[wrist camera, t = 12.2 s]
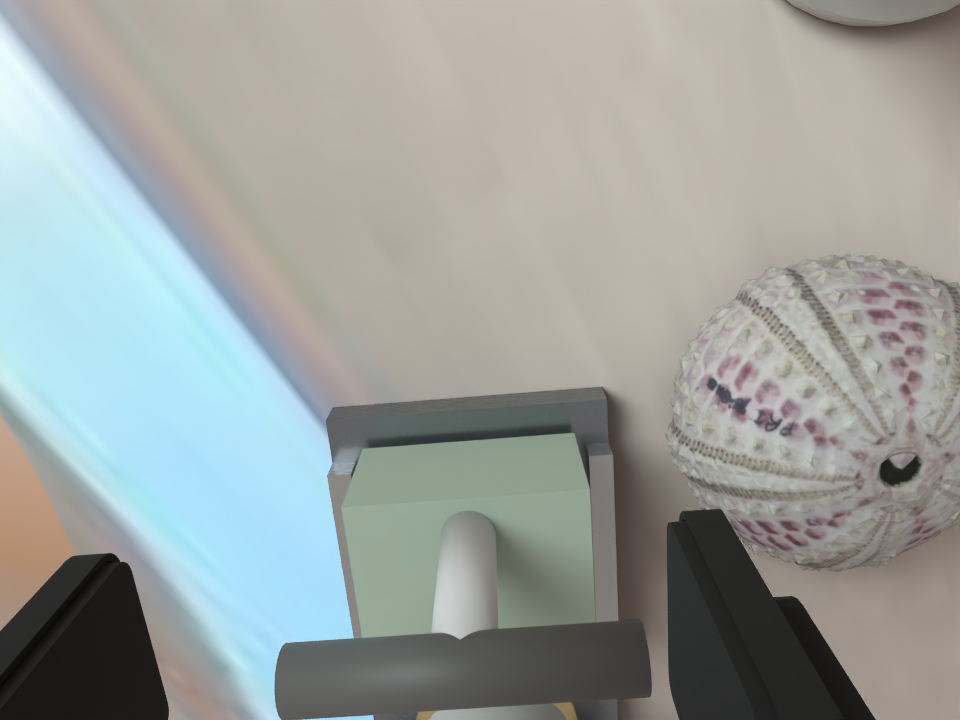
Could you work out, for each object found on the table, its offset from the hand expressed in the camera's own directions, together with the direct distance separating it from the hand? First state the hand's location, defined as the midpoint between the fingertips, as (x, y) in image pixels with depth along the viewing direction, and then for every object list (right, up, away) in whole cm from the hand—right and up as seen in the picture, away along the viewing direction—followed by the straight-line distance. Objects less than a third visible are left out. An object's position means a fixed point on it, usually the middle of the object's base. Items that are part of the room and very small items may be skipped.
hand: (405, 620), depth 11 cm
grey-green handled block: (+1, -2, +22) cm, 22 cm away
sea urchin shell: (+15, +3, +22) cm, 27 cm away
